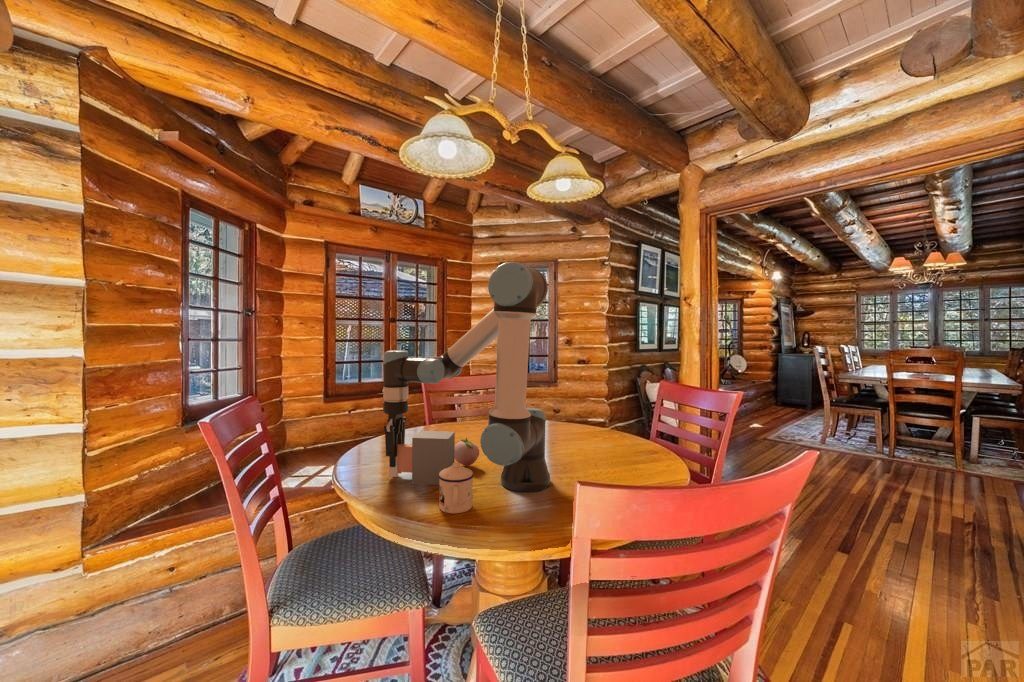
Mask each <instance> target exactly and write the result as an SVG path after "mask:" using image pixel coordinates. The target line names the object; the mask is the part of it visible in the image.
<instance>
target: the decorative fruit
mask: <svg viewBox="0 0 1024 682" xmlns="http://www.w3.org/2000/svg"><path fill="white" fill-rule="evenodd" d="M479 456H480V449H479V447H478V445H477V444H476V443H475V442H472V441H470V440H468V437H466V438H461V439H460V441H458V442H457V443H455V456H454V461H455V462H458V463H460V465H461V466H463V467H464V468H468V467H469V466H471V465H474V463H476V461H478V458H479Z"/></svg>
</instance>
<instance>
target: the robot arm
mask: <svg viewBox="0 0 1024 682" xmlns="http://www.w3.org/2000/svg"><path fill="white" fill-rule="evenodd" d="M548 286H549V285H548V281H547V279H546V277H545V275H544V274H543V273H541V272H540V271H539V270H537V269H535V268H532V267H530V266H527V264H524V263H522V262H515V261H508V262H504V263H501V264H500V265H498V266H497V267H496V268H495V269H494V270H493V271H492V272H491V274H490V276H489V278H488V283H487V290H488V294H489V296H490V297H491V299H492V300H493V308H492V309H491V310H490V311H488V313H487V314H486V315H484V316H483V317H482V318H481V319H480V320H479V321H478V322H477V323H476V324H475V325H473V326H471V328H470V329H469V330H468V331H467V332H466V333H464V334H463V335H462V336H461V337H460V338H459V339H458V340H457V341H456V342H455V343H453V344H452V345H451V346H450V347H449V348H448V349H447V350H446V351H445V352H444V353H443V354H441V355H440V356H431V357H411V356H409V351H407V350H400V349H399V350H387V351H385V352H384V353H383V361H382V362H383V363H382V374H383V377H382V378H383V385H382V386H383V389H382V390H381V391H382V393H383V394H382V397H383V400H384V401H382V411H383V413H384V414H385V415H388V418H387V422H386V423H387V424H385V425H384V426H383V429H384V437H385V438H384V440H385V441H384V442H385V443H384V444H385V457H388V477H389V478H390V477H391V478H398V477H399V474H402V473H403V472H398V455H397V446H398V444H405V440H406V439H405V438H406V437H405V436H406V422H407V417H406V416H404V414H406V413H408V411H409V401H408V399H409V383H417V384H418V383H419V384H426V385H430V384H433V385H435V384H436V385H437V384H439V383H440V382H441V381H442V380H446V379H449V380H450V379H453V378H455V377H457V376H459V375H460V374H461V373H462V372H463V371H462V370H463V367H465V366H466V365H467V364H468V363H469V362H470V361H472V360H473V359H475V358H476V356H477V355H479V354H480V353H481V352H482V351H484V350H485V349H486V348H487V347H488V346H489V345H490V344H492V342H494V341H495V340H496V339H497V349H496V350H497V352H496V366H495V367H496V369H495V371H496V372H495V386H494V387H495V390H494V391H495V392H494V406H493V407H492V408H491V409H490V410H488V416H487V417H488V419H487V426H486V427H485V428H484V429H483V431H482V433H481V435H480V440H479V441H480V447H481V450H482V452H483V454H484V456H486V457H487V459H488V460H489V461H490V462H491V463H493V464H495V465H498V466H502V467H503V469H502V471H501V473H500V483H501V484H500V485H502V486H503V487H504V488H506V489H509V490H510V491H515V492H516V491H517V492H523V493H524V492H525V493H526V492H527V493H529V492H531V491H532V492H539V491H542V489H543V490H545V489H548V488H549V487H550V485H551V474H550V472H549V468H548V466H547V462H546V422H547V419H546V412H545V410H544V409H540V408H536V407H535V408H534V407H526V405H527V403H526V402H527V387H528V370H529V368H528V366H529V351H530V330H531V329H530V328H531V321H532V320H533V318H534V317H535V316H536V315H537V308H539V306H541V305H542V304H543V302H544V301H545V299H546V298H547V295H548V289H549V288H548ZM548 486H549V487H548ZM532 492H531V493H532Z"/></svg>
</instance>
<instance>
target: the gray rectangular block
mask: <svg viewBox="0 0 1024 682" xmlns="http://www.w3.org/2000/svg"><path fill="white" fill-rule="evenodd" d="M455 434H456V433H455V431H447V430H442V431H439V430H420V431H418V432H417V433H416V434H415V435H414V436H412V439H411V440H412V441H411V443H412V444H411V445H412V473H411V484H412V485H426V484H427V485H428V486H429V485H431V486H439V473H440V472H441V471H442V470H444V469H446V468H449V467H451V466H452V464H453V463H454V462H455V458H454V456H455V445H456V442H455V441H456V439H455V438H456V437H455V436H456V435H455Z"/></svg>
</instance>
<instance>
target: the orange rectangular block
mask: <svg viewBox="0 0 1024 682" xmlns="http://www.w3.org/2000/svg"><path fill="white" fill-rule="evenodd" d="M397 455H398V472H402V473H411V474H412V444H408V443H407V444H398V446H397Z"/></svg>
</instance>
